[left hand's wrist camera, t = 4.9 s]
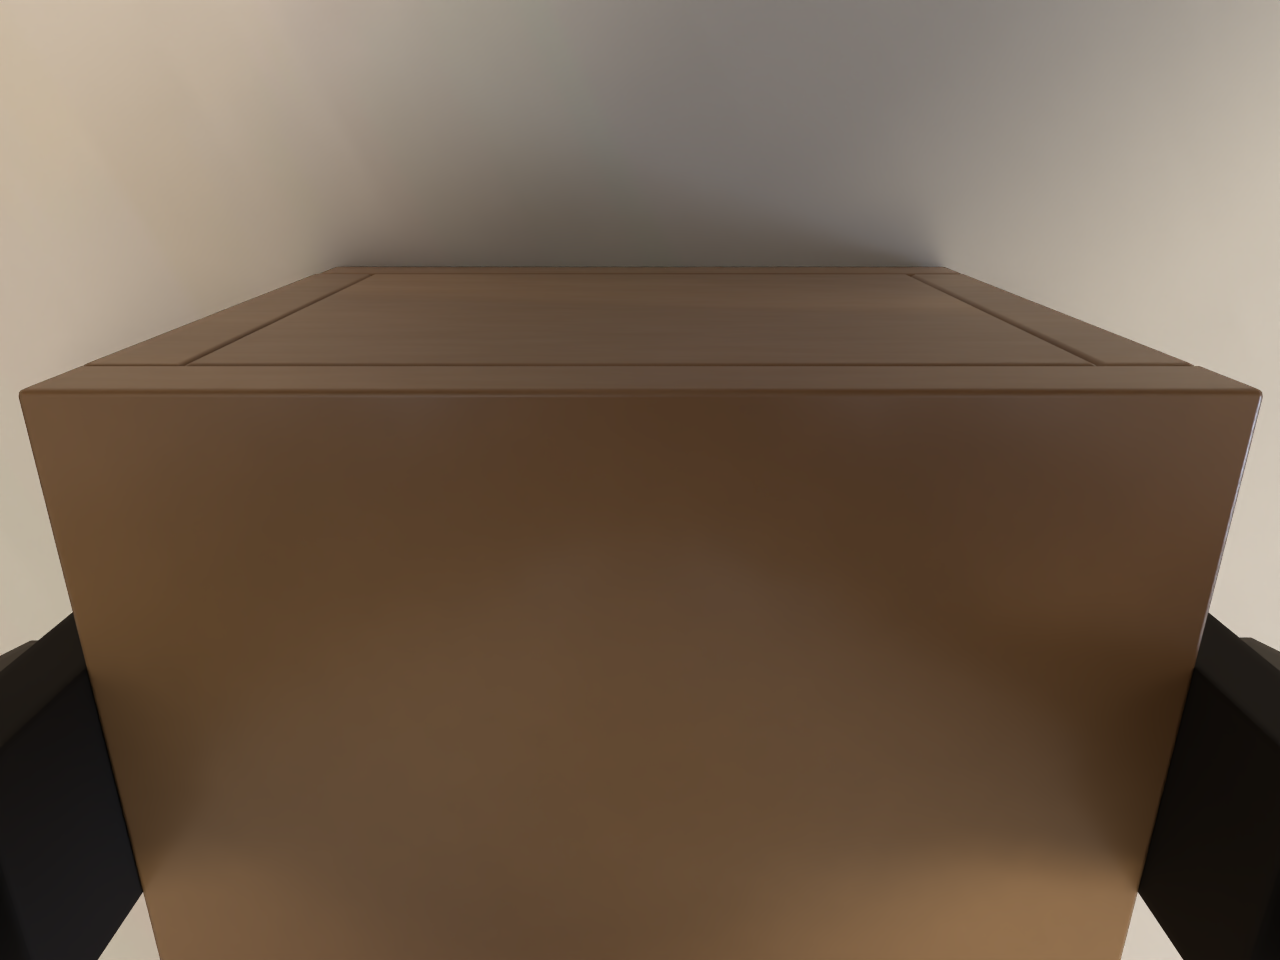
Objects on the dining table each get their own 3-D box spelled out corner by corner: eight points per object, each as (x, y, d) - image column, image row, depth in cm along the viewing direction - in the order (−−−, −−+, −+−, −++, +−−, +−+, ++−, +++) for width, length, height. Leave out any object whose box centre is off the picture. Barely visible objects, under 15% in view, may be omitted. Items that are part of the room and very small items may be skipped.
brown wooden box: (854, 1054, 22) (972, 1554, 14) (425, 1055, 21) (307, 1554, 14) (947, 266, 15) (1268, 388, 7) (332, 266, 15) (13, 390, 7)
